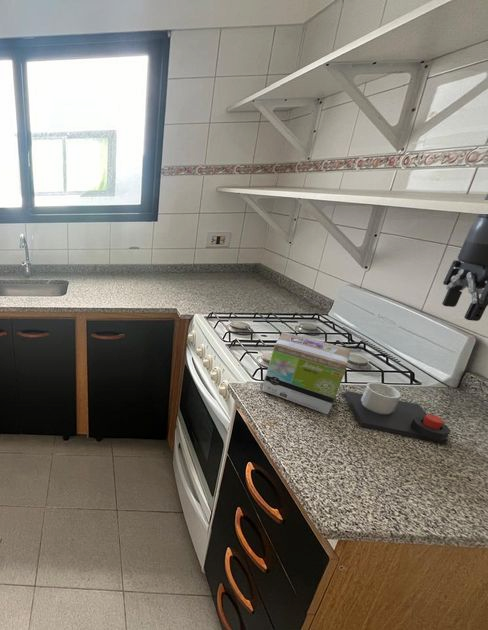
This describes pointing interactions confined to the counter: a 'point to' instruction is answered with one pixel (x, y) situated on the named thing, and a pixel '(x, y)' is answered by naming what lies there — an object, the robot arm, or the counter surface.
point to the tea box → (306, 371)
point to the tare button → (433, 422)
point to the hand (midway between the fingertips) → (459, 312)
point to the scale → (397, 420)
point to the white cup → (380, 398)
